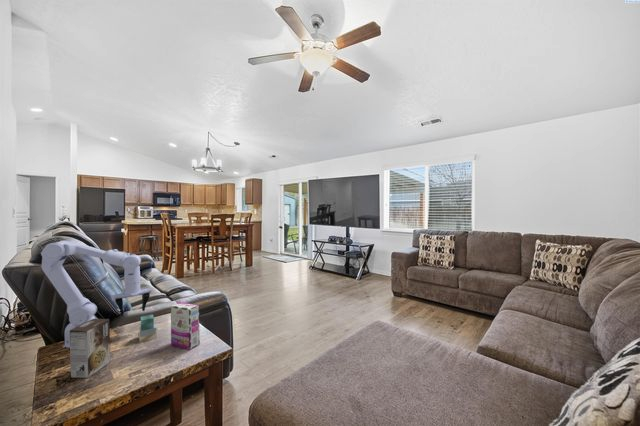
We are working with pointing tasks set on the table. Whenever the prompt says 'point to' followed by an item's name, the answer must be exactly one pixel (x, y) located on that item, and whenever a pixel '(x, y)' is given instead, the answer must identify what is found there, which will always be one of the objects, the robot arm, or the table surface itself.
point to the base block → (146, 337)
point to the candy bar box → (185, 325)
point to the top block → (148, 331)
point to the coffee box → (89, 347)
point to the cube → (147, 322)
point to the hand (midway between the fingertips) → (133, 312)
